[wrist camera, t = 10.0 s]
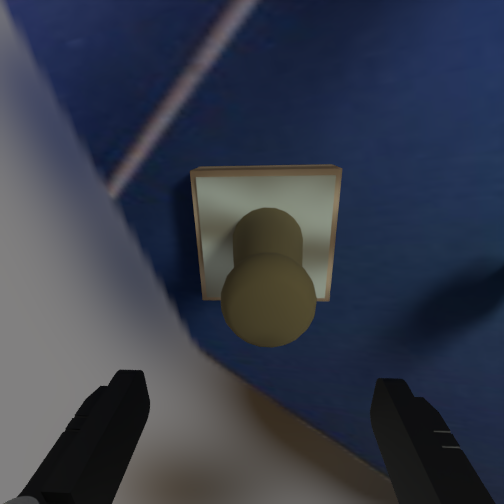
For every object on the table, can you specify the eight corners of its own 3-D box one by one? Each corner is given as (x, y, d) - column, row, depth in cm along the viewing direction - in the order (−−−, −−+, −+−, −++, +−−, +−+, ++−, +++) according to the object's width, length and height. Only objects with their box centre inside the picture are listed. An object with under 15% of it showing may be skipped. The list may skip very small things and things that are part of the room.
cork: (237, 276, 25) (218, 369, 15) (227, 211, 23) (196, 268, 13) (304, 270, 25) (331, 362, 14) (301, 203, 22) (330, 256, 12)
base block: (199, 166, 26) (188, 171, 22) (331, 164, 25) (343, 168, 21) (209, 281, 30) (202, 301, 26) (321, 282, 30) (329, 302, 26)
